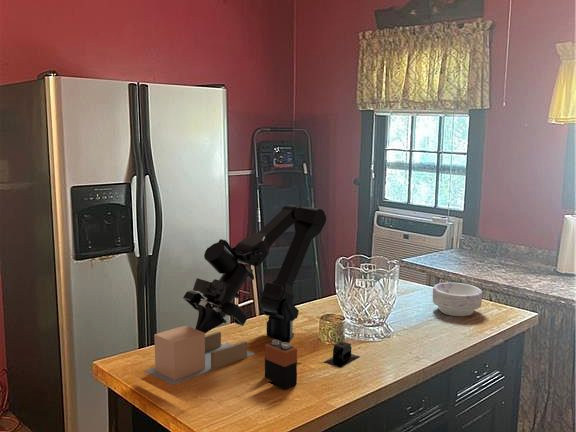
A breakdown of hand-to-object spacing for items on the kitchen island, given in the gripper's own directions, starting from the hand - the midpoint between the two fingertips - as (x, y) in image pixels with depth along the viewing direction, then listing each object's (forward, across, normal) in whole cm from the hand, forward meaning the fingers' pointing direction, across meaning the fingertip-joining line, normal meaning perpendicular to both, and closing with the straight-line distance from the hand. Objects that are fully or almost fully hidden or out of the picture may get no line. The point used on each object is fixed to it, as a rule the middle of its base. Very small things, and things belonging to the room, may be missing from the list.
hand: (195, 336), depth 149 cm
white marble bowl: (-55, +24, +67) cm, 90 cm away
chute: (+4, 0, +7) cm, 8 cm away
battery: (0, +21, +12) cm, 24 cm away
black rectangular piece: (-15, +22, +27) cm, 38 cm away
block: (+8, 0, +2) cm, 8 cm away
